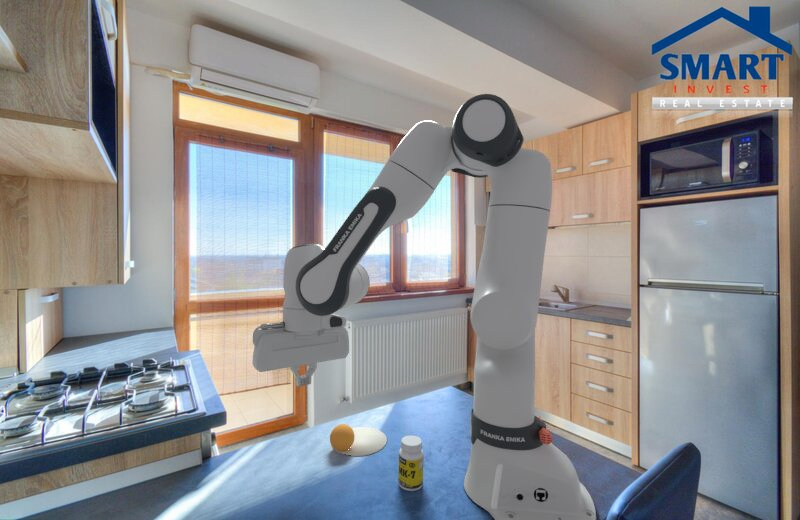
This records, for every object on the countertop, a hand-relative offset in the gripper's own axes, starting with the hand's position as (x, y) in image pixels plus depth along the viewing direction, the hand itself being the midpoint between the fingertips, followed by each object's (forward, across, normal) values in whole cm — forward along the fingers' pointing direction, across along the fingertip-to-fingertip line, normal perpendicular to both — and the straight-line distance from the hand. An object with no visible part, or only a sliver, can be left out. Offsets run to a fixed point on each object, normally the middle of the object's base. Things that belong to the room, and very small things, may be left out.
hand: (303, 384), depth 74 cm
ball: (+13, +9, -1) cm, 16 cm away
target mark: (+16, +14, 0) cm, 21 cm away
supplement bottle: (+16, +14, -20) cm, 29 cm away
